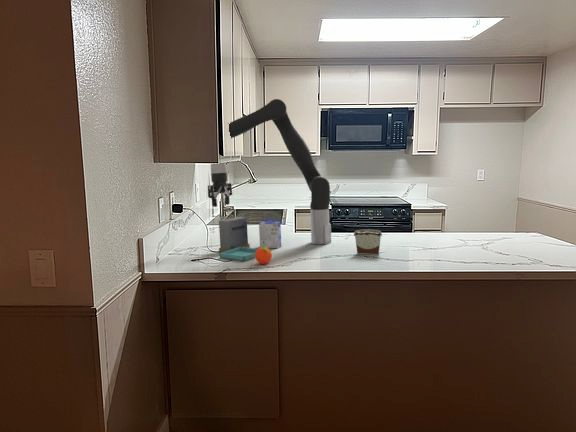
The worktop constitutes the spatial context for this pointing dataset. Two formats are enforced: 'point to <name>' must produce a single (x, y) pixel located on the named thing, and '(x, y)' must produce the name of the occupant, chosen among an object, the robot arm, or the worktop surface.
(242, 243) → the printer unit
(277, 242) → the ink cartridge box
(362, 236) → the food container
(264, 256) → the clementine
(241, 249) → the tray
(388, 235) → the worktop surface
